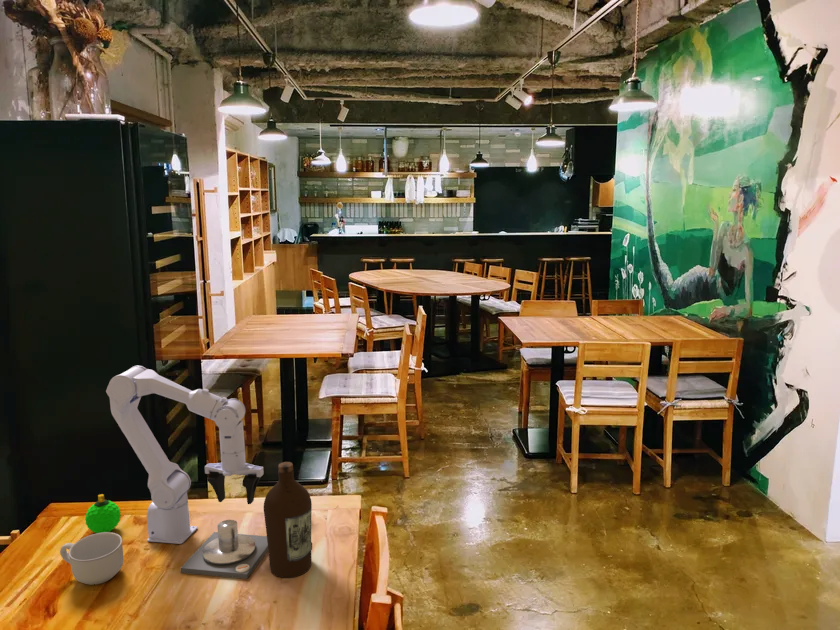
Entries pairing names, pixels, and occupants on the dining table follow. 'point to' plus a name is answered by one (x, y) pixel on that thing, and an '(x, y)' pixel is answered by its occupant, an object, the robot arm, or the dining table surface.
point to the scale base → (233, 570)
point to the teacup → (95, 557)
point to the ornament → (102, 515)
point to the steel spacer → (228, 536)
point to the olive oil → (288, 525)
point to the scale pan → (220, 558)
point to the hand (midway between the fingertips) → (236, 501)
